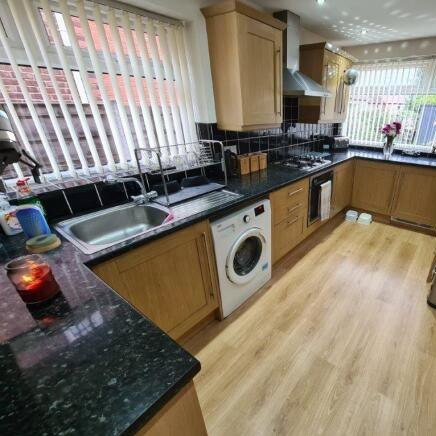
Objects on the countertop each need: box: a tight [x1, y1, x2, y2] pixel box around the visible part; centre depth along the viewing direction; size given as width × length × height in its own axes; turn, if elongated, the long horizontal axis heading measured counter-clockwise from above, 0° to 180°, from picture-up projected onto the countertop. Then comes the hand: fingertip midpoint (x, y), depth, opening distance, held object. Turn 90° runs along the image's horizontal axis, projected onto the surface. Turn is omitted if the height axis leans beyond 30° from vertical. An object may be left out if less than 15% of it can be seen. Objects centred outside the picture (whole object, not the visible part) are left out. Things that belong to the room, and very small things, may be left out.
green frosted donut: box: [25, 233, 62, 254], centre depth 108 cm, size 11×11×4 cm
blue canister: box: [14, 203, 52, 240], centre depth 114 cm, size 8×8×16 cm
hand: (20, 187), depth 110 cm, fingers open, 13 cm apart
